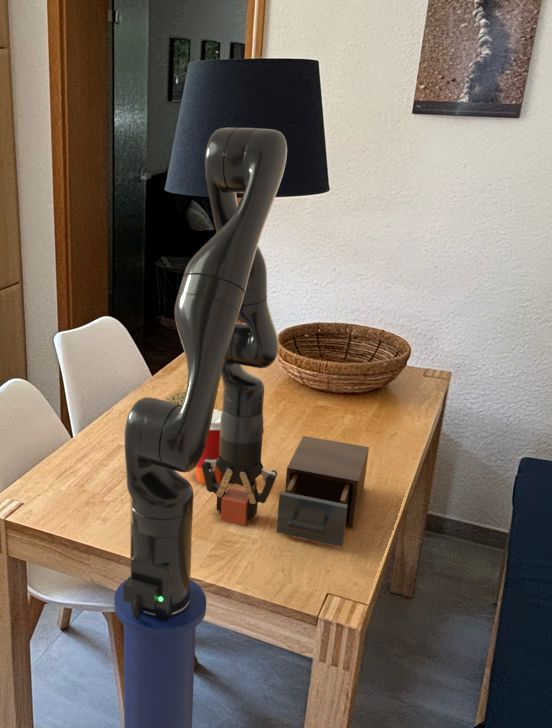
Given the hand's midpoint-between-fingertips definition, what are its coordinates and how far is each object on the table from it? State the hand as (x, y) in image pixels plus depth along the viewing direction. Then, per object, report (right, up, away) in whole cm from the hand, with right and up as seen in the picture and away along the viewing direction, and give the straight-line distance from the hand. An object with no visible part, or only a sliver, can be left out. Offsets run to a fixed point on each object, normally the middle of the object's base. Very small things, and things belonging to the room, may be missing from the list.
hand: (236, 515), depth 143 cm
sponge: (-7, +14, +37) cm, 40 cm away
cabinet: (+18, +2, +5) cm, 18 cm away
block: (0, 0, 0) cm, 0 cm away
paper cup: (-3, +5, +14) cm, 15 cm away
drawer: (+13, -1, -5) cm, 14 cm away
